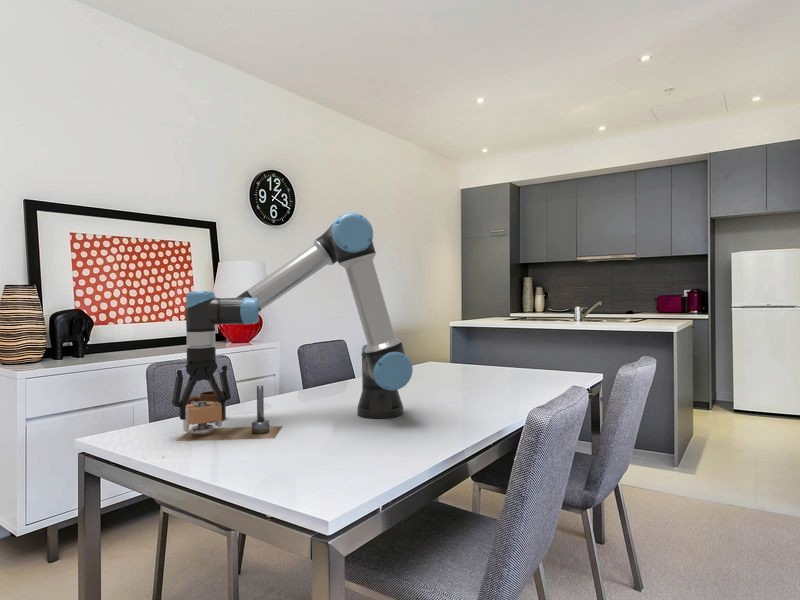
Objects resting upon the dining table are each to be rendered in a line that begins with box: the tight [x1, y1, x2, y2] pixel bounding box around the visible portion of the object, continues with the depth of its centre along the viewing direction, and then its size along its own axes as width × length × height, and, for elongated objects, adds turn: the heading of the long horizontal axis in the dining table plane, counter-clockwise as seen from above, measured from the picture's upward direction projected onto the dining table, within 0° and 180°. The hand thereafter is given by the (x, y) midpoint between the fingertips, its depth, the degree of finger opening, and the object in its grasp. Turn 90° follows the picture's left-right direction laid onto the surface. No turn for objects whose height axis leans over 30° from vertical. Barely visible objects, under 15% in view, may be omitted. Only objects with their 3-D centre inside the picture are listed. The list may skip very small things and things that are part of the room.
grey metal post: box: [191, 401, 214, 437], centre depth 145 cm, size 6×6×9 cm
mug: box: [187, 390, 227, 424], centre depth 160 cm, size 12×8×9 cm, turn 130°
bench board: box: [175, 425, 283, 442], centre depth 145 cm, size 26×13×1 cm, turn 93°
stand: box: [251, 385, 271, 435], centre depth 146 cm, size 5×5×13 cm
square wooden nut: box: [186, 401, 222, 426], centre depth 145 cm, size 8×8×4 cm
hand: (202, 428), depth 145 cm, fingers closed on square wooden nut, 8 cm apart
